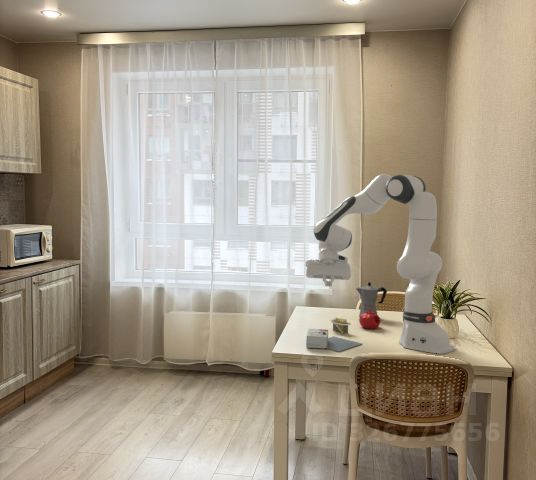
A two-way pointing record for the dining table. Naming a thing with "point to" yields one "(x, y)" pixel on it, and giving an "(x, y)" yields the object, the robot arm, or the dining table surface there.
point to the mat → (340, 344)
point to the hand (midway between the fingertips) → (328, 285)
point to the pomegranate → (369, 320)
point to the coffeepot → (370, 297)
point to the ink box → (317, 338)
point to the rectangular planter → (340, 325)
